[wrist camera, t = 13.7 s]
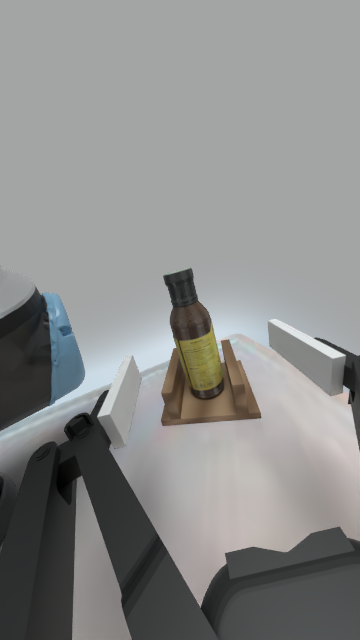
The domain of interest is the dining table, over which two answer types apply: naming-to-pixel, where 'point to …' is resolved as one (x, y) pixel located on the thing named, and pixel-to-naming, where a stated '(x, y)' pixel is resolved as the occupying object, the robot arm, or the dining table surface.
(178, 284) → the sauce bottle
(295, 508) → the dining table surface
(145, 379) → the dining table surface
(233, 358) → the walnut slotted rack
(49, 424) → the dining table surface
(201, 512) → the dining table surface
